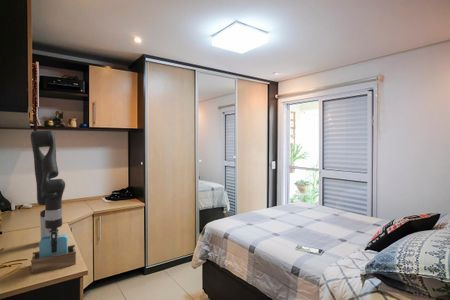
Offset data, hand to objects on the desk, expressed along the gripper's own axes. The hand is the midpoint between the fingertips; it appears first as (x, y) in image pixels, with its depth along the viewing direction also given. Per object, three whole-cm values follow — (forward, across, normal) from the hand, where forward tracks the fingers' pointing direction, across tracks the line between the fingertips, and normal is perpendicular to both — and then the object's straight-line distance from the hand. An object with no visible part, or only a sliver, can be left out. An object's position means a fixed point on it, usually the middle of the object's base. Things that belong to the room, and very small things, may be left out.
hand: (54, 250), depth 137 cm
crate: (+7, 0, 0) cm, 7 cm away
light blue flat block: (+5, 0, 0) cm, 5 cm away
